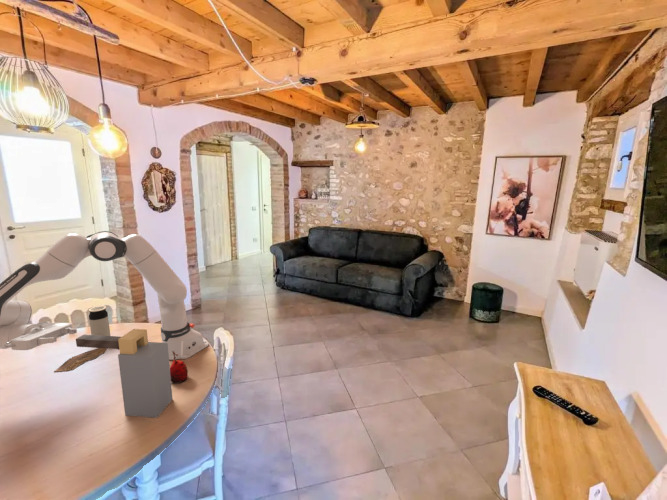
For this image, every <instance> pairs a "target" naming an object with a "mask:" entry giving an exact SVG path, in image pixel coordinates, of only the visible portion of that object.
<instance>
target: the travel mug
mask: <svg viewBox="0 0 667 500" xmlns="http://www.w3.org/2000/svg"><path fill="white" fill-rule="evenodd" d="M88 312H89V314H88V321H89V328H90V335H100V336H111V329H110V321H109V312H108V311H107V306H106V305H96V306H92V307H90V308H89V309H88Z"/></svg>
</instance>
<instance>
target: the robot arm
mask: <svg viewBox="0 0 667 500" xmlns="http://www.w3.org/2000/svg"><path fill="white" fill-rule="evenodd" d="M88 257H93V258H94V259H95V260H97V261H101V262H110V261H113V260H117V259H121V258H123V257H124V258H126V259H127V261H128V262H130V264H131V265H132V266H133V267H134V268H135V269H136V270H137V272H138V273H140V275H141V276H142V277H143V278H144V279H145V280H146V282H147V283H148V284H149V285H150V286H151V287H152V289H153V291H154V292H156V294H157V295H156V296H157V301H158V308H159V314H160V322H161V323H160V324H161V325H160V326H161V327H160V337H161V343H168V353H169V361H170V360H171V361H174V360H175V359H176V360H187V359H189V358H190V357H192V356H194V355H196V354H197V353H199V352H200V351H202V350H203V349H205V348H207V347H209V346H210V344H209V342H208V340H206V339H205V338H204V337H203V334H202V333H200V332H199V331H197V330H195V329H194V328H195V324H194V323H190V322H188V321H187V310H186V305H185V299H186V298H187V294H188V292H187V289H188V288H187V287H186V284H185V283H184V282H183V281H182V280H181V278H180V277H179V276H178V275H177V274H176V272H175V271H174V270H173V269H172V268H171V266H170V265H169V263H167V261H166V260H164V258H163V257H162V256H161V255H160V253H159V252H158V251H157V250H156V249H155V247H154V246H153V245H152V244H151V243H150V242H148V241H147V240H146V239H145V237H143V236H142V235H140V234H137V233H136V234H135V233H131V234H129V235H126V236H125V237H119V236H118V235H117V234H116V233H114V232H111V231H108V230H103V231H98V232H96V233H93V234H89V235H87V236H84V235H82V234H79V233H74V232H70V233H67V234H65V235H64V236H63V237H61V238H59V239H58V240H57V241H56V242H55V243H54V244H52V245H51V247H49V248H48V249H47V250H46V251H45V252H44V253H43V254H42V255H40V256H39V257H38V258H36V259H35V260H33V261H31V262H28V263H26V264H24V265H23V266H21V267H19V268H18V269H17V270H15V271H14V272H12V274H10V275H9V276H8V277H7V278H5V279H4V280H2V282H1V283H0V350H6V349H11V350H13V351H29V350H32V349H35V348H38V347H41V346H42V345H47V344H53V343H56V342H57V341H58V339H59V338H61V337H64V336H66V335H75V334H77V333H78V331H77V328H73V324H72V323H71V322H51V321H43V322H38V323H37V322H36V323H30V320H31V317H32V313H33V310H32V306H31V304H30V303H29V302H28V301H25V300H17V299H13V298H14V297H15V296H17V295H18V294H19V293H21V292H22V291H23V290H24V289H25V288H27V287H28V286H31V285H33V284H36V283H41V282H45V281H46V282H47V281H58V280H61V279H64V278H65V277H67V276H68V275H70V274H71V273H72V272H73V271H74V270H75V269H76V268H77V267H78V266H79V265H80V263H81V262H82V261H83V260H84V259H85V258H88ZM207 342H208V343H207ZM172 351H173V352H175V354H178V356H176V355H175V357H176V358H175V359H174V354H173V352H172ZM172 354H173V355H172Z"/></svg>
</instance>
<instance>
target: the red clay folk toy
mask: <svg viewBox="0 0 667 500" xmlns="http://www.w3.org/2000/svg"><path fill="white" fill-rule="evenodd" d="M172 352H173V351H172ZM173 354H174V360H172V362H171V365H170V376H171V384H172V383H173V384H175V383H176V384H177V383H179V384H180V383H182V382H185V381H186V380H188V377H189V375H188V374H189V373H188V371H189V370H188V368H187V364H186V363H185V361H183V360H181V359H175V358H176V357H175V355H176V356H178V354H175V352H173ZM173 354H172V355H173Z"/></svg>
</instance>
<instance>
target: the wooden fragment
mask: <svg viewBox="0 0 667 500" xmlns="http://www.w3.org/2000/svg"><path fill="white" fill-rule="evenodd" d="M107 349H108V348H93V349H91V350H88V351H86V352H83V353H80V354H77V355H74V356H71V357H70V358H68V359H67V360H65V362H64V363H62V364H61V365H60V366H59V367H58V368H56V369H55V370H53V373H65V372H69V371H73V370H75V369H76V368H77V367H80V366H81V365H84V364H85V363H87V362H89V361H92V360H94V359H97V358H99V356H101V355H102V354H103V355H104V354H105V352H106V351H107Z"/></svg>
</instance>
